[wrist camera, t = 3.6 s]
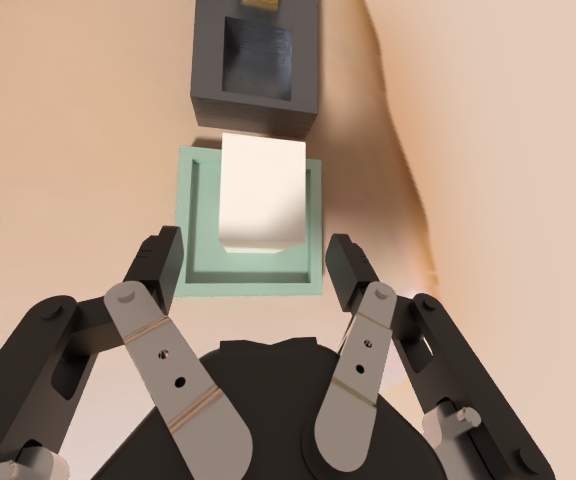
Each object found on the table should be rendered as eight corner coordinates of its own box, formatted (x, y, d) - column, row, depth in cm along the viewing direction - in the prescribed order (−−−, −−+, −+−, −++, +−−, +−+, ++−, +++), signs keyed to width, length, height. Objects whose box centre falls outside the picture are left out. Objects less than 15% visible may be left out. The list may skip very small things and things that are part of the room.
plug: (227, 252, 21) (218, 239, 11) (229, 194, 21) (222, 132, 11) (274, 253, 21) (305, 242, 12) (275, 197, 22) (305, 142, 12)
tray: (176, 294, 20) (170, 297, 18) (184, 156, 22) (179, 145, 20) (314, 292, 23) (322, 295, 21) (314, 168, 24) (321, 159, 22)
